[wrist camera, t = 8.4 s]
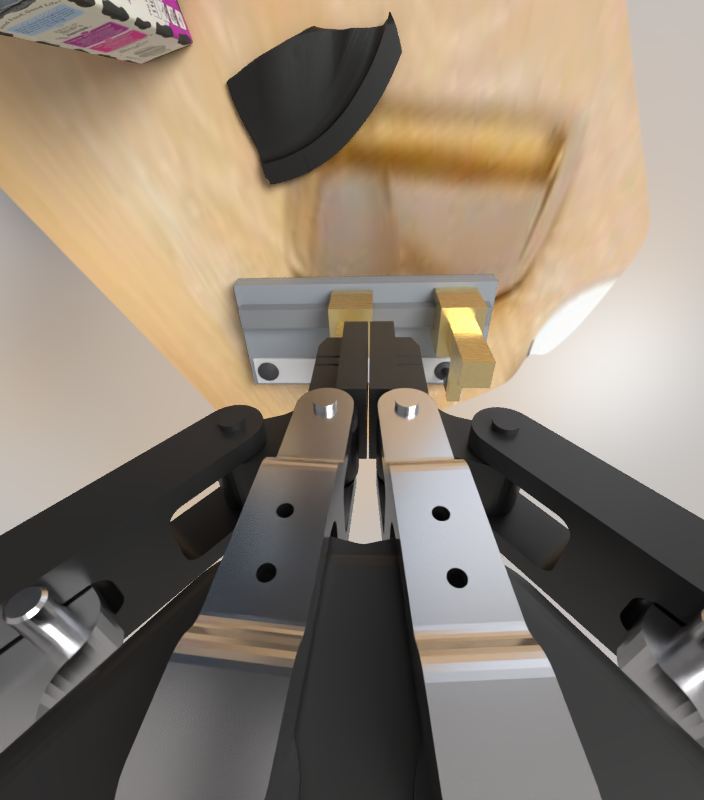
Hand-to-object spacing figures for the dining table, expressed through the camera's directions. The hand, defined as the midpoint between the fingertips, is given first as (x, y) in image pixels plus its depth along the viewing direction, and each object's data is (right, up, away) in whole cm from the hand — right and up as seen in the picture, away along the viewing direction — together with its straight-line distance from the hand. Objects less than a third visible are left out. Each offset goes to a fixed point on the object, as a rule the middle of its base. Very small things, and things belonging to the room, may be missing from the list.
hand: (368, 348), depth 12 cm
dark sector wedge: (-4, +23, +20) cm, 30 cm away
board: (+1, +6, +31) cm, 32 cm away
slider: (0, +5, +29) cm, 30 cm away
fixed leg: (+10, +5, +29) cm, 31 cm away
